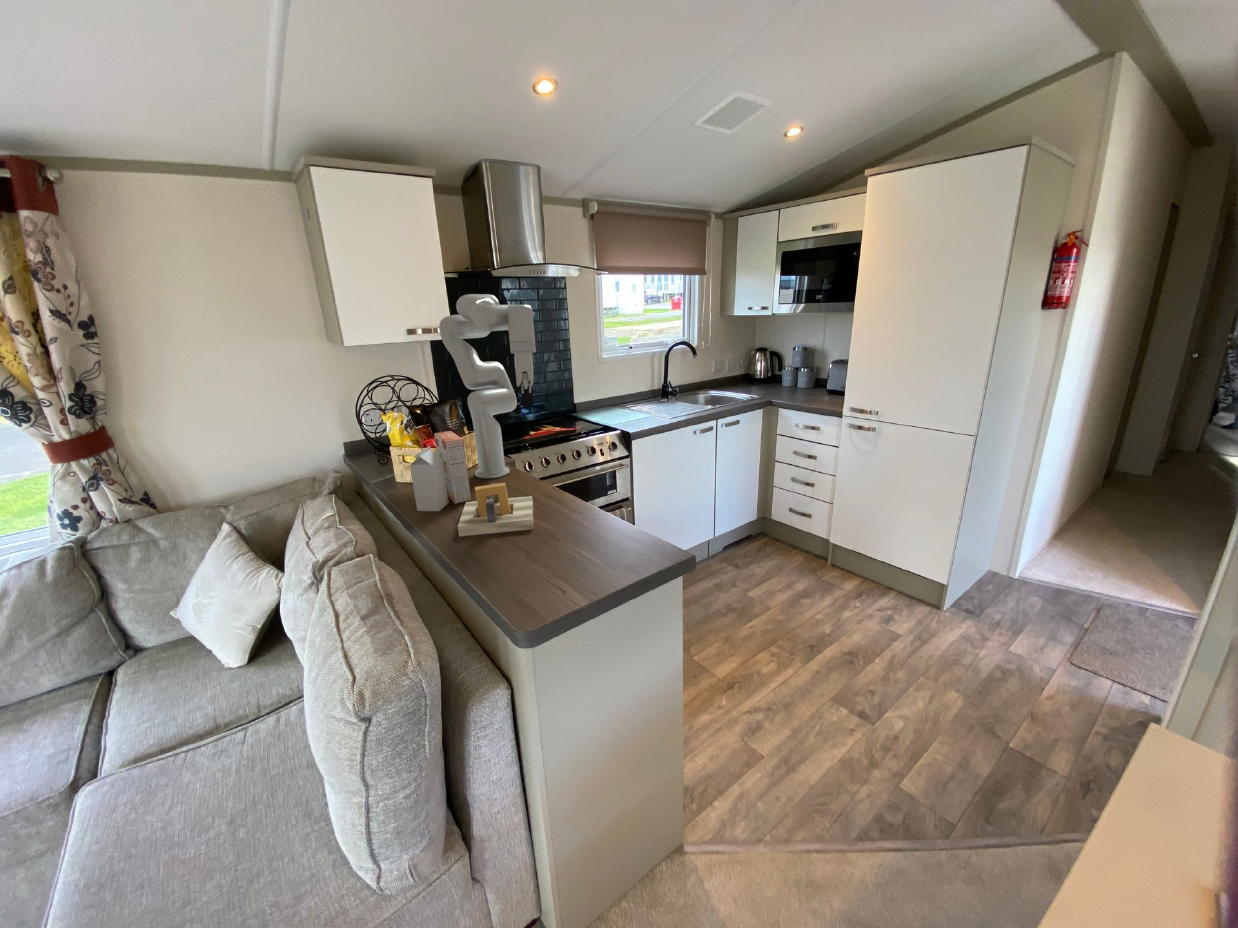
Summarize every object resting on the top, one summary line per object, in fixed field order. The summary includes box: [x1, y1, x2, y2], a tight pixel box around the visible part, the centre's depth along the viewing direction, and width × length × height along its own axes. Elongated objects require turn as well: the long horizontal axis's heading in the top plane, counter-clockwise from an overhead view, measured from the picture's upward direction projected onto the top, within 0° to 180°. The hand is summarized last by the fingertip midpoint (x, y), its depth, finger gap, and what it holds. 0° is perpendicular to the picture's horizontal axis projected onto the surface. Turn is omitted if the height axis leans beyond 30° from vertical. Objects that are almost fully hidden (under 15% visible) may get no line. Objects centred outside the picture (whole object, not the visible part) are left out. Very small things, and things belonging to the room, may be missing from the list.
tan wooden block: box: [474, 482, 512, 517], centre depth 142 cm, size 2×8×9 cm, turn 101°
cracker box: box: [433, 430, 473, 505], centre depth 161 cm, size 14×6×21 cm, turn 33°
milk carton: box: [409, 445, 450, 512], centre depth 152 cm, size 7×7×19 cm
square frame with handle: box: [457, 482, 534, 537], centre depth 143 cm, size 18×20×8 cm
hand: (527, 403), depth 155 cm, fingers open, 9 cm apart
